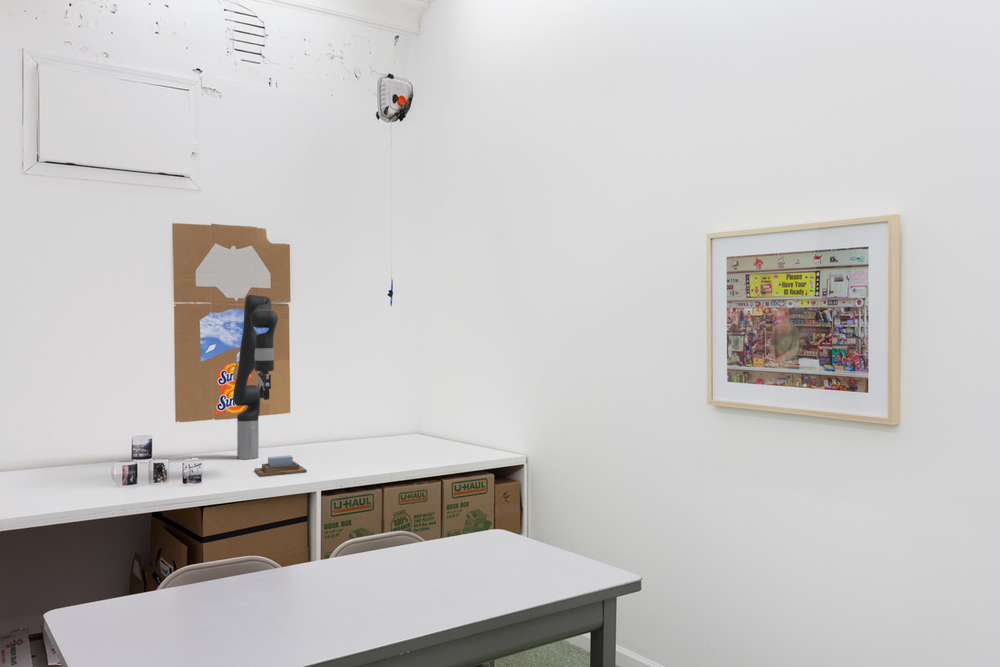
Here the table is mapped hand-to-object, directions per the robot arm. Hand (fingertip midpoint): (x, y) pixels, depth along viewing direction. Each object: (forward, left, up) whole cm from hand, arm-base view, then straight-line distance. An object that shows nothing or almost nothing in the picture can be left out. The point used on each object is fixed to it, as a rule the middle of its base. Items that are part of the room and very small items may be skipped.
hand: (264, 398), depth 289 cm
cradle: (+2, +6, -30) cm, 31 cm away
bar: (+2, +6, -29) cm, 30 cm away
